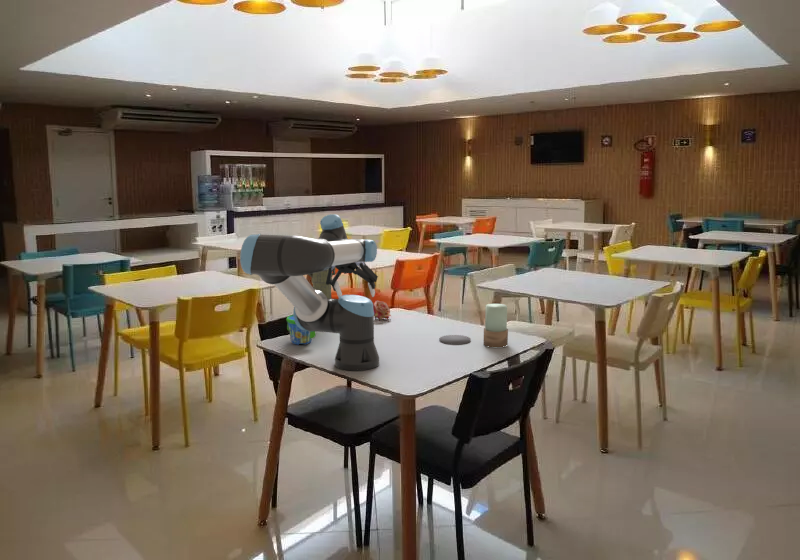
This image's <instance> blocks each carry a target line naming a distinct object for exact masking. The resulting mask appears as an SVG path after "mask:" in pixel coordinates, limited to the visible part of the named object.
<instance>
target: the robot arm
mask: <svg viewBox="0 0 800 560" xmlns="http://www.w3.org/2000/svg"><path fill="white" fill-rule="evenodd" d="M319 224H320V228H321V232H320V234H319V237H318V238H315V237H314V238H313V237H308V236H300V235H294V234H293V235H290V234H289V235H288V234H287V235H286V234H282V235H281V234H262V233H257V234H250V235H248V236H247V237H245V239H244V240H243V243H242V245H241V248H240V255H239V257H240V260H239V261H240V266H241V267H240V268H241V269H242V271H243V272H244V273H245V274H248V275H250V276H252V275H257V276H258V277H259V278H260V279H262V281H264V283H266V284H267V285H268V284H269V285H274V286H275V288H277V290H278V291H279V292H280V293H281V294H282V295H283V296H284V297H285V298H286V299H287V300H288V301H289V302H290V303H291V305H292V306H293V310H292V311H293V314H292V315H294V318H295V323H296V325H297V326H298V327H299V328H300V329H302V330H305V331H309V332H313V331H315V333H316V332H319V333H330V334H339V344H338V347H337V350H336V354H335V358H334V366H335V367H336V368H337V369H340V368H341V369H340V370H345V371H353V372H355V371H356V372H357V371H366V370H367V371H368V370H371V369H374V368H377V367H378V366H379V365H380V356H379V353H378V349H377V347H376V343H375V322H374V321H375V316H374V311H373V304H374V302H373V301H372V300H371V299H370V298H368V297H366V296H363V295H358V294H343V292H342V289H341V286H340V283H339V281H338V280H339V278H340V276H341V275H342V274H344V275H345V274H354V275H357V276H358V277H360V278H361V279H363V280H364V281H366V282H367V285H368V290H369V292H370V296H371V297H372V298H374V297H375V294H376V290H375V289H376V282H377V280H378V277H379V276H378V275H377V274H376V273H375V272H374V271H373V270H372V269H371V268H370V267H369V266H368V265H367V264H366V263H370V262H371V263H373V262H374V261H375V260H376V258H377V255H378V247H377V243H376V242H375V241H374V240H373V239H365V238H364V239H360V238H359V239H358V238H356V239H355V238H348V236H347V232H346V229H345V227H344V223H343V221H342V218H341V216H340V215H338V214H335V213H334V214H327V215H325V216H323V217H322V218H321V219H320V222H319ZM334 267H335V269H337V272H335V275H333V277H332V280H331V275H332V273H333V269H334ZM327 269H328V270H329V271H328V276H327V280H326V284H327V285H329V284H330V285H331V288H332V290H333V291H334V292H335V293H336V295H337V297H338V298H331V299H329V298H327V297H326V296H325V294H324V293H322V292H321V291H318V290H315V289H314V288H313V285H312V284H311V283H310V282H309V281H308V279H307V278H306V277H305V275H307V276H308V274H312V273H316V272H321V271H325V270H327Z"/></svg>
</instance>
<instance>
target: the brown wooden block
mask: <svg viewBox="0 0 800 560" xmlns="http://www.w3.org/2000/svg"><path fill="white" fill-rule="evenodd" d="M508 337H509V329H508V328H507V330H506V331H503V332H491V331H487V330H485V327H484V328H483V346H484V345H485V346H484V347H486V346H489V347H488V348H490V347H503V346H506V345H508V344H509V343H508V341H509V338H508ZM506 347H507V346H506ZM503 348H504V347H503Z"/></svg>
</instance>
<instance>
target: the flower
mask: <svg viewBox="0 0 800 560" xmlns="http://www.w3.org/2000/svg"><path fill="white" fill-rule="evenodd" d="M373 311H374V319H378V320H379V321H381V320H382V319H383V320H384V319H386V320H389V319H390V317H392V314H391V310H390V308H389V304H387V302H385V301H382V300H381V301H380V300H378V299H377V300H375V302H373Z"/></svg>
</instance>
